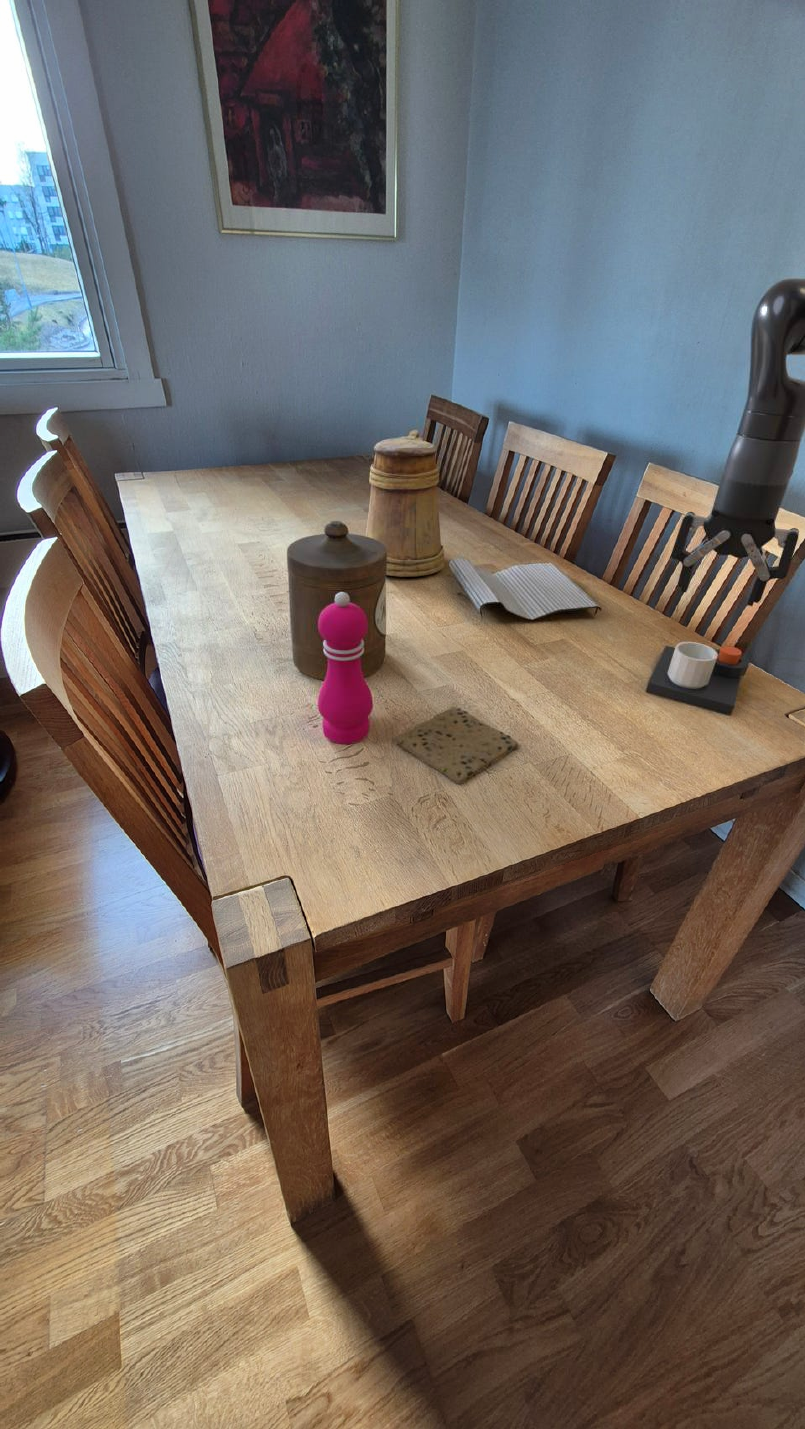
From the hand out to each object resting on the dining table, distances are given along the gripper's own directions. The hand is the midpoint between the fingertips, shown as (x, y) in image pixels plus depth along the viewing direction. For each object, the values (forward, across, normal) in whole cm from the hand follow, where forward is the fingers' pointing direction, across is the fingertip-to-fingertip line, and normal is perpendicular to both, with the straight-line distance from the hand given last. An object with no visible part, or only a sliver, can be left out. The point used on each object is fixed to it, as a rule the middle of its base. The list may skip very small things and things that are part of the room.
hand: (716, 597), depth 87 cm
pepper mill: (+15, -38, -36) cm, 54 cm away
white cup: (+14, 0, 0) cm, 14 cm away
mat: (+15, -34, +19) cm, 42 cm away
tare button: (+12, +4, +8) cm, 15 cm away
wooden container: (+15, -50, -20) cm, 56 cm away
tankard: (+15, -64, +24) cm, 70 cm away
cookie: (+15, -24, -31) cm, 42 cm away
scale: (+15, +1, +4) cm, 16 cm away
